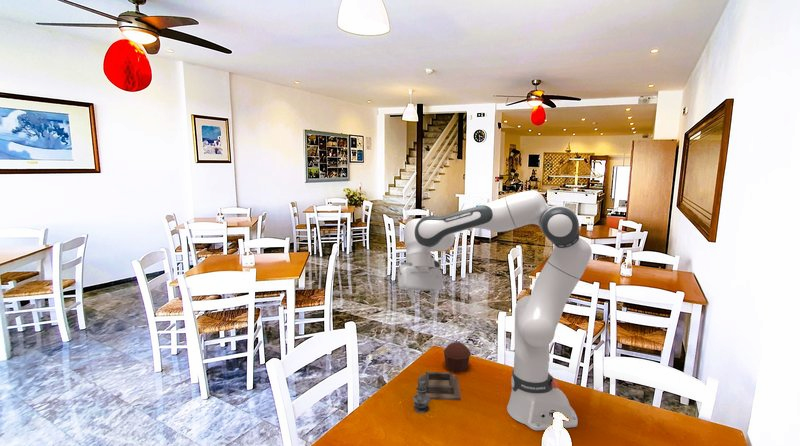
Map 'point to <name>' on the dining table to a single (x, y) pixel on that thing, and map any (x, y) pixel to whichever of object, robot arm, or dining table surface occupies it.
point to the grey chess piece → (421, 397)
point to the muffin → (457, 357)
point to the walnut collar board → (442, 386)
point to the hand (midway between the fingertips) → (423, 303)
